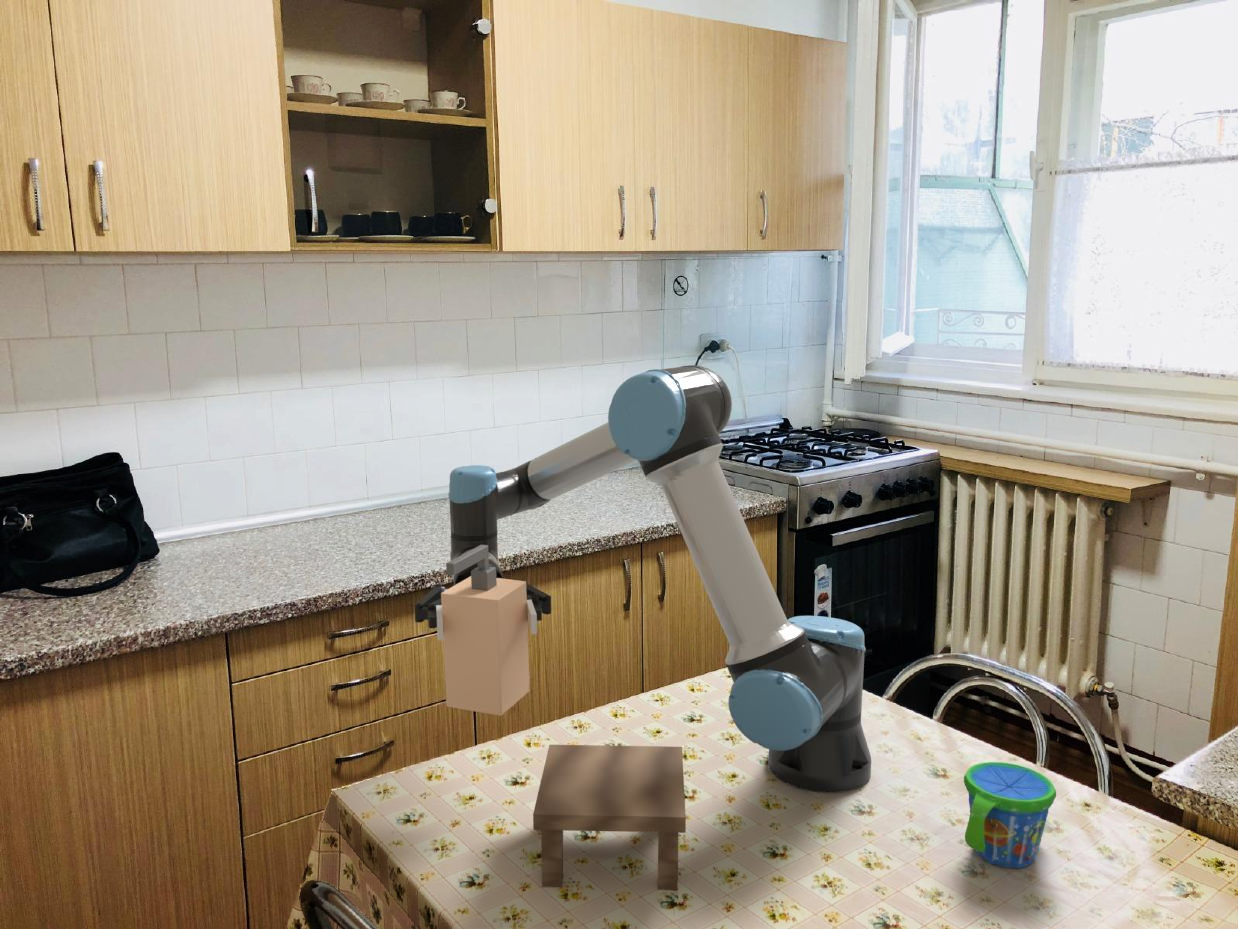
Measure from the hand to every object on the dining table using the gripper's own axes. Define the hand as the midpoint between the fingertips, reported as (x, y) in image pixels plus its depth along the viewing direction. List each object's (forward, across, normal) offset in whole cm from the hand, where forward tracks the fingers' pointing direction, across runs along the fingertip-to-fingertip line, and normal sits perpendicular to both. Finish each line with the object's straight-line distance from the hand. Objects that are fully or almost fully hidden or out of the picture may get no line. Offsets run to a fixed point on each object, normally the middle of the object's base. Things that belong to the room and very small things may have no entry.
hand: (487, 627), depth 131 cm
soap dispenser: (-3, +1, -12) cm, 13 cm away
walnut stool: (+12, -14, -27) cm, 33 cm away
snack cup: (+22, -63, -27) cm, 73 cm away
